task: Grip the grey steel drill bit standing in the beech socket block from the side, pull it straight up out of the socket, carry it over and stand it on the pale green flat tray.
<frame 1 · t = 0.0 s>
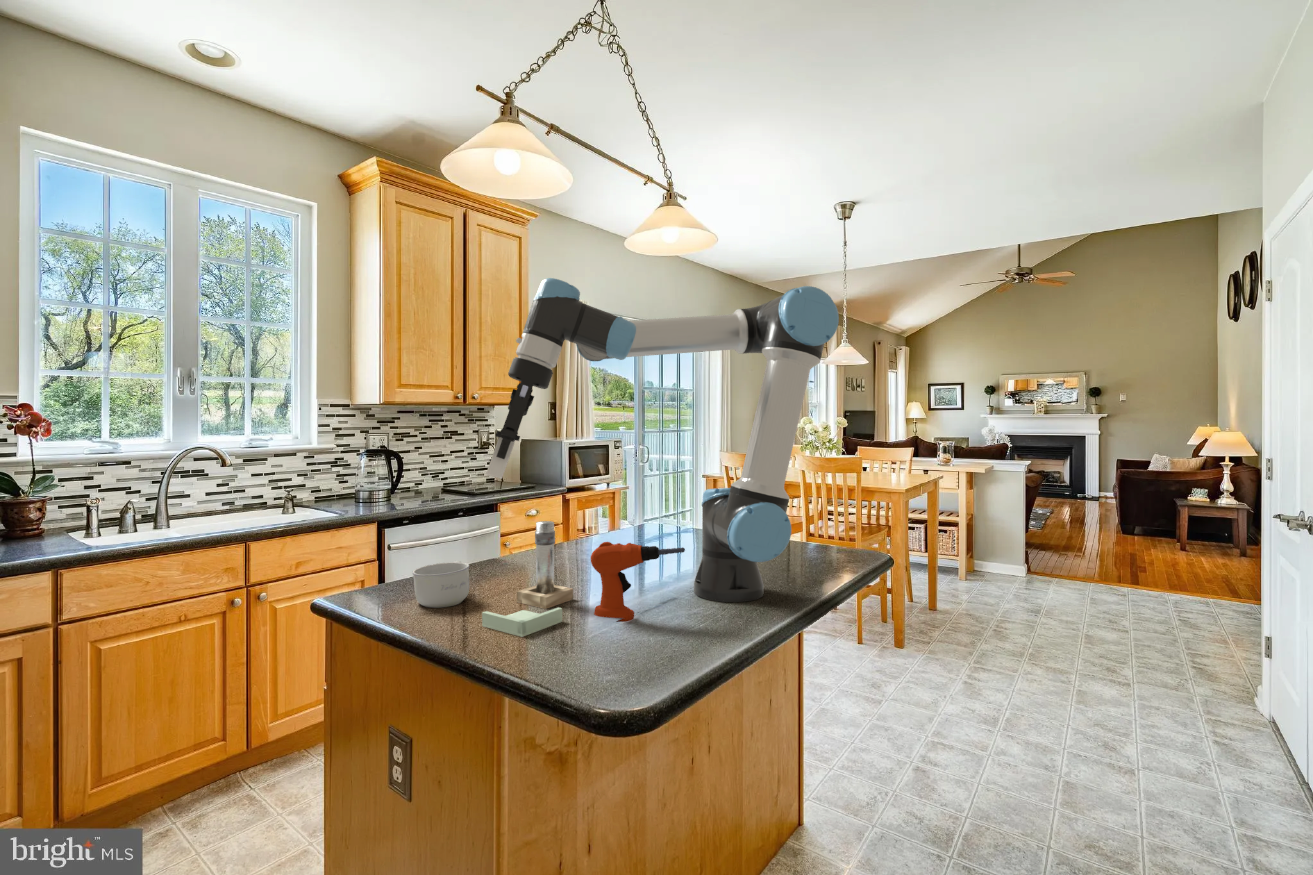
hand: (495, 473, 112), 28 cm above the countertop, tool tilted 20°, fingers open, 13 cm apart
pale green flat tray: (522, 627, 112), on the countertop
socket: (545, 604, 127), on the countertop
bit: (545, 600, 127), point 1 cm above the countertop, touching socket
teacup: (446, 604, 127), on the countertop
toy drill: (637, 619, 118), on the countertop
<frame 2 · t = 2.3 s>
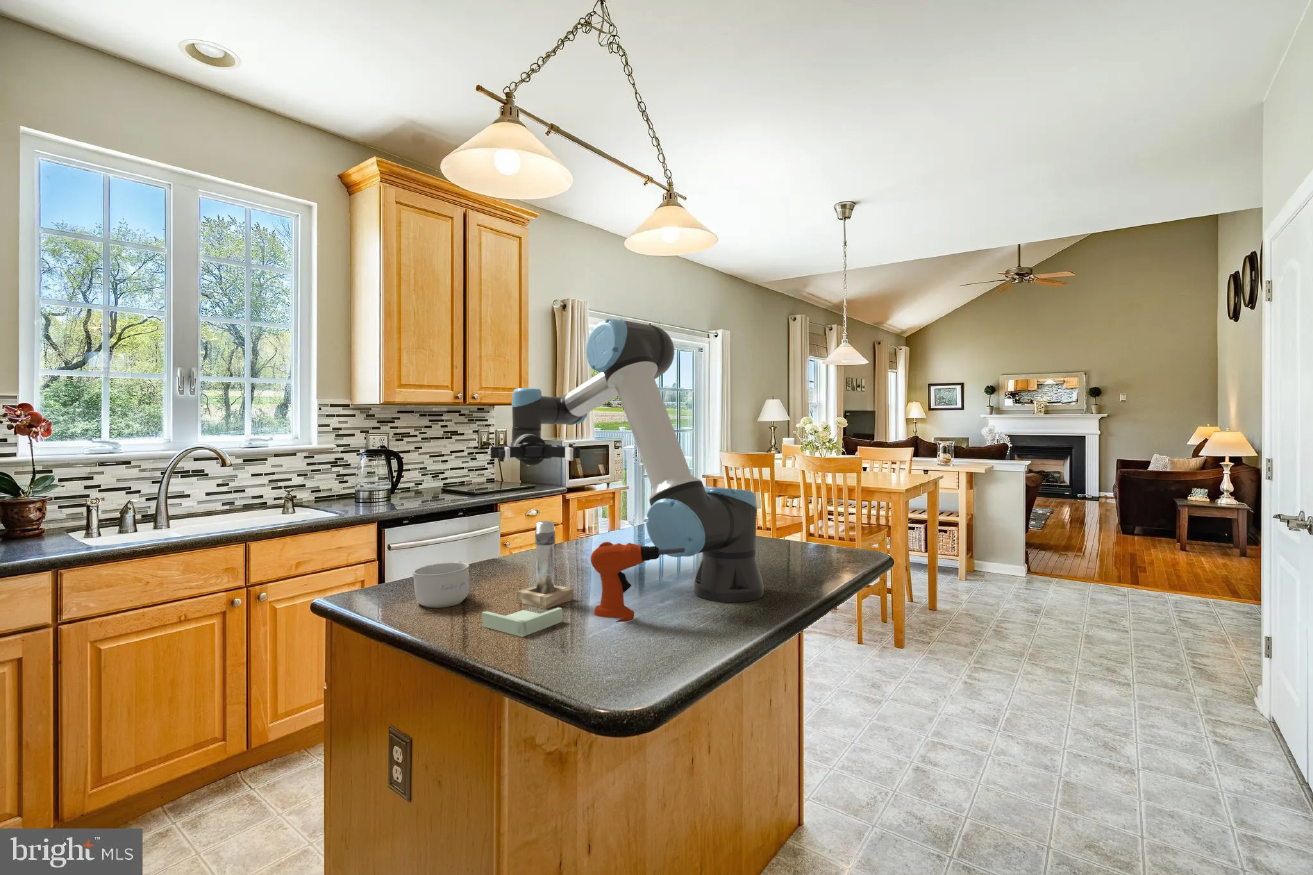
hand: (540, 454, 135), 30 cm above the countertop, tool horizontal, fingers open, 13 cm apart
nothing on the countertop moved.
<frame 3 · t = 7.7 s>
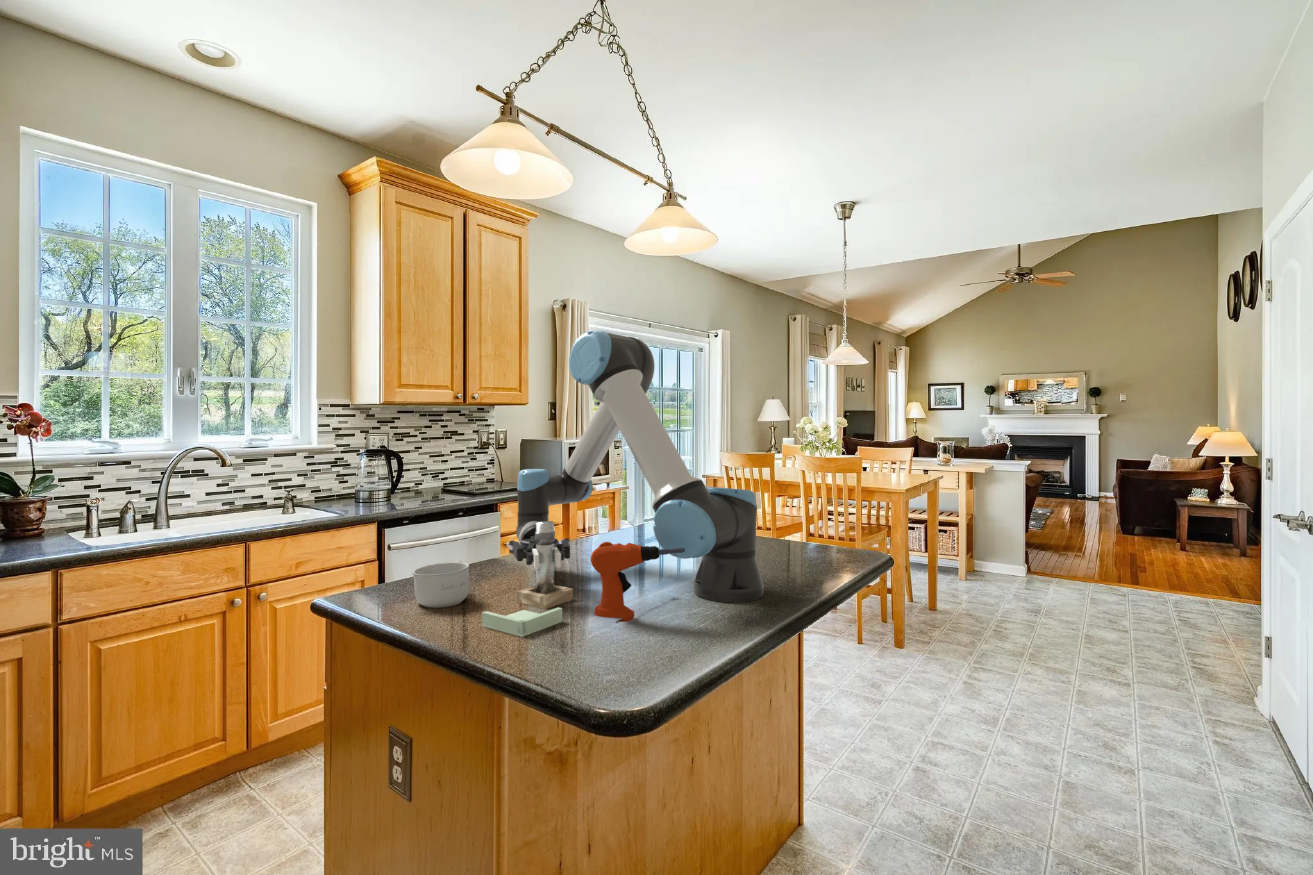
hand: (548, 561, 121), 10 cm above the countertop, tool horizontal, fingers closed on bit, 3 cm apart
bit: (545, 600, 127), point 1 cm above the countertop, touching gripper, socket
everything else where it was.
when the fingers open (12 cm above the countertop, at t = 12.3 s): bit drops 1 cm, resting on pale green flat tray.
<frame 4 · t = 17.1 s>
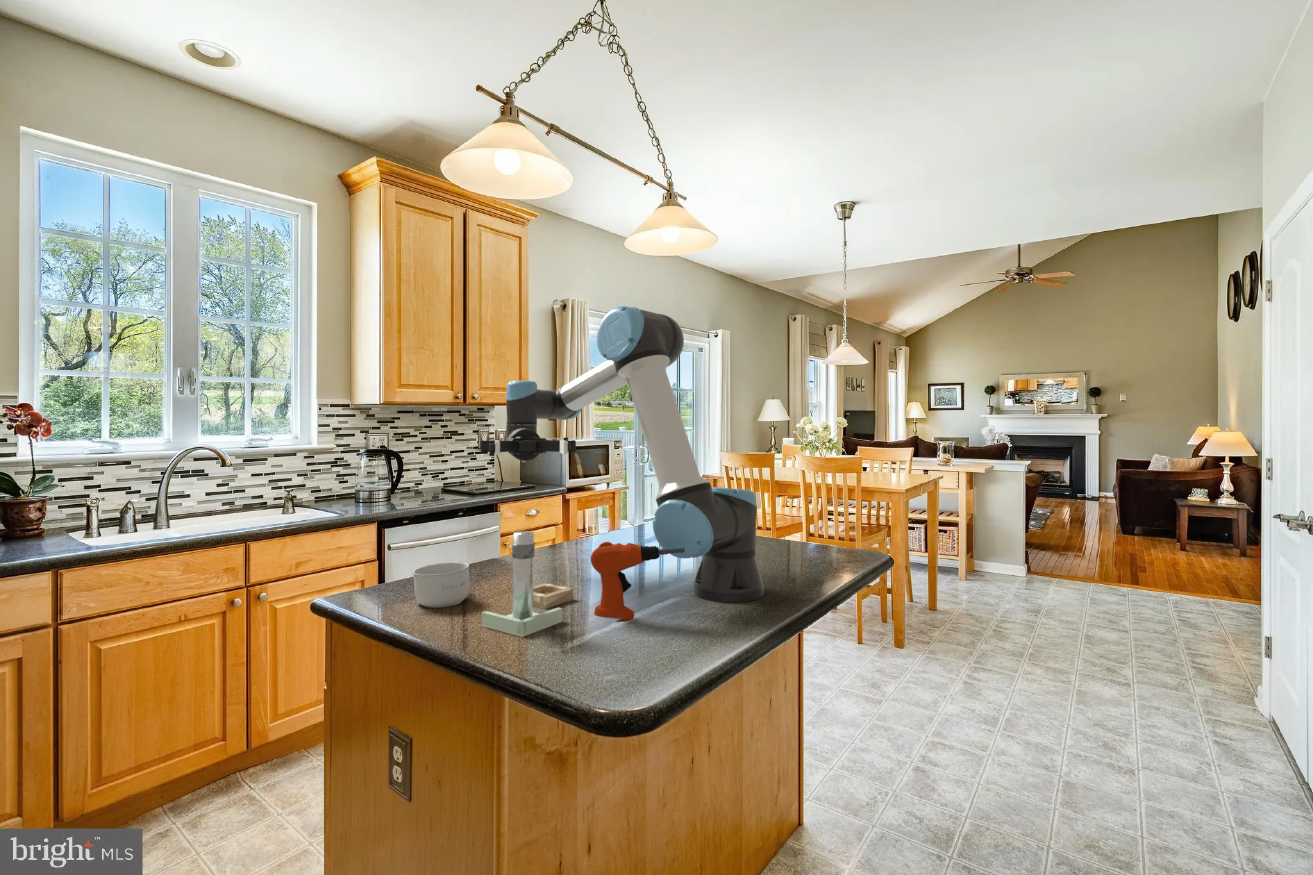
hand: (532, 447, 126), 32 cm above the countertop, tool horizontal, fingers open, 13 cm apart
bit: (522, 621, 112), point 1 cm above the countertop, touching pale green flat tray
everything else where it was.
at the end: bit inside the target area on the pale green flat tray (0.0 cm from its centre), point 1.2 cm above the pale green flat tray's base; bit tilted 1°; the gripper is holding nothing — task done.
